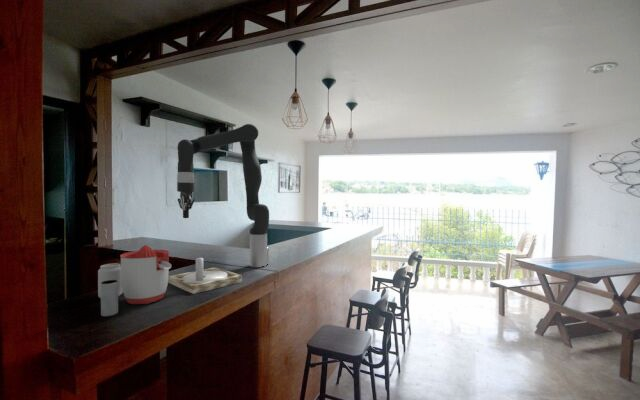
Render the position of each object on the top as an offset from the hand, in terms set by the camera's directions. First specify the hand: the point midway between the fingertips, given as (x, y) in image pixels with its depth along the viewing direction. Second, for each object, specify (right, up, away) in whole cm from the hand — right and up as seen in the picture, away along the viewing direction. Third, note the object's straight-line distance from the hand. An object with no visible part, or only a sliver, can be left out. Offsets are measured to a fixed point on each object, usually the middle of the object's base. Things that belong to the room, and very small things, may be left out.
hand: (185, 217), depth 147 cm
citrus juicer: (+2, -28, -36) cm, 46 cm away
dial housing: (+15, -27, -14) cm, 34 cm away
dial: (+15, -26, -14) cm, 33 cm away
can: (-14, -28, -33) cm, 45 cm away
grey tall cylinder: (-3, -28, -49) cm, 57 cm away
